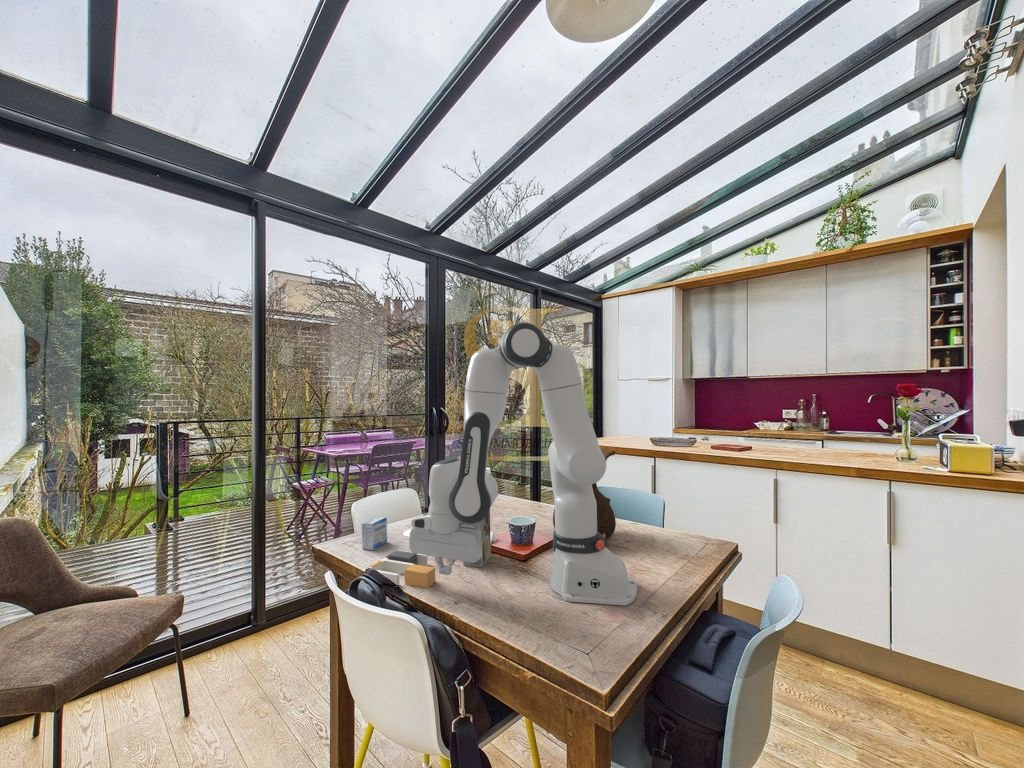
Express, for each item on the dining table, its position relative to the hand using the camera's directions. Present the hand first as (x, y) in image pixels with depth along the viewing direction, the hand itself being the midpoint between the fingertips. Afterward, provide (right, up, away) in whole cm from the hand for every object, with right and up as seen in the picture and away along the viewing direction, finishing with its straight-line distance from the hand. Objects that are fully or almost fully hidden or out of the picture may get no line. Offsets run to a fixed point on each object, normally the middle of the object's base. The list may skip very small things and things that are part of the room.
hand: (445, 573), depth 116 cm
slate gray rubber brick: (-14, -4, +14) cm, 21 cm away
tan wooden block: (-7, -4, +4) cm, 9 cm away
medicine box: (-28, -5, +32) cm, 43 cm away
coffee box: (+7, -4, +18) cm, 20 cm away
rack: (-15, -4, +10) cm, 19 cm away
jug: (+42, -3, +34) cm, 55 cm away
